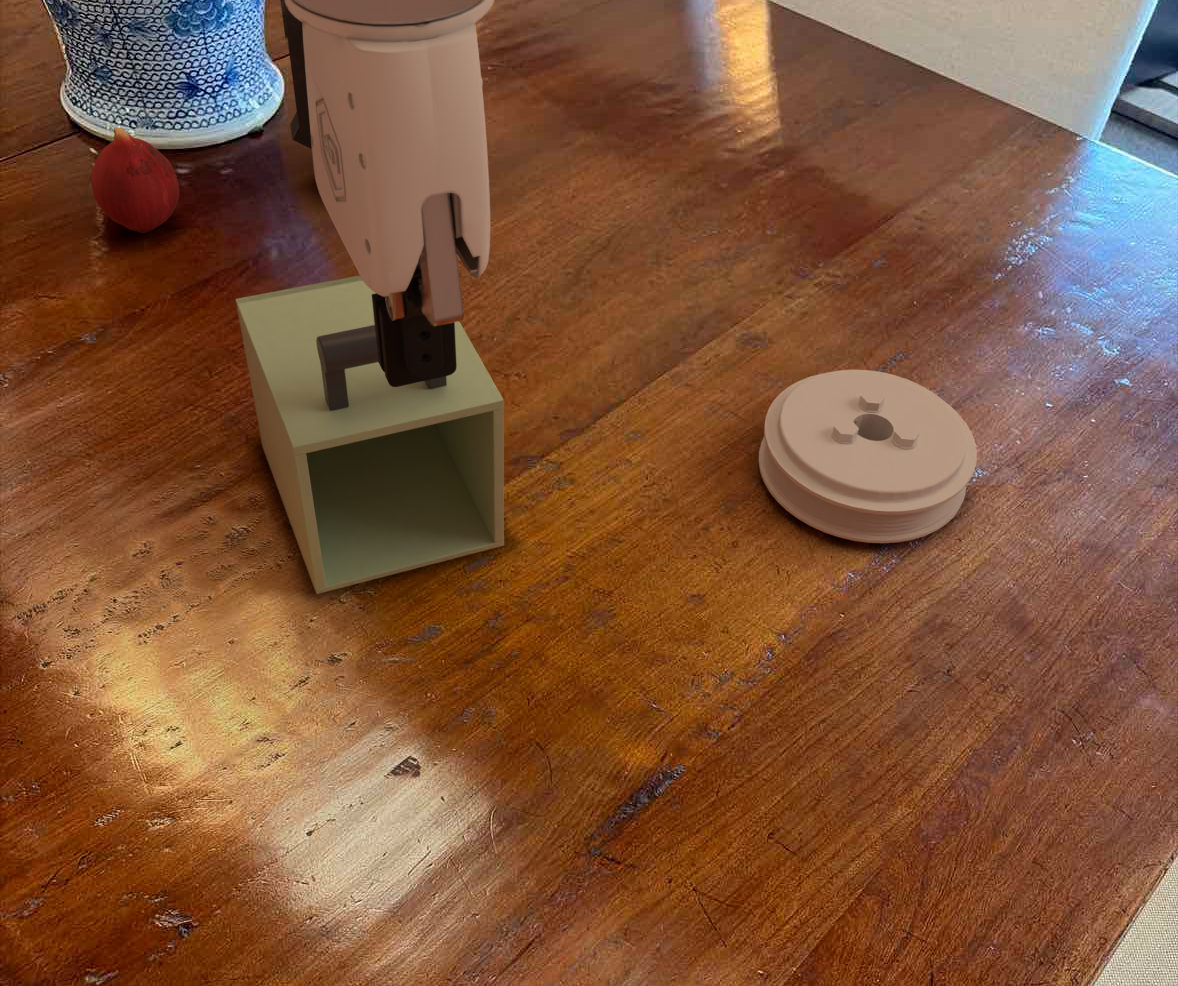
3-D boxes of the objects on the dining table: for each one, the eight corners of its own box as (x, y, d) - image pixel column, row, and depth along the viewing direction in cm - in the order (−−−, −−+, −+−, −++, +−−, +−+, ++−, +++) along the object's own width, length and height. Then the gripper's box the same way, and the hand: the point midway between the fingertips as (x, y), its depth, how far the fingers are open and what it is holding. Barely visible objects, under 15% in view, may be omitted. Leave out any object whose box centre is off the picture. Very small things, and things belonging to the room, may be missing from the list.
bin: (504, 548, 75) (504, 334, 64) (316, 597, 72) (282, 381, 61) (434, 410, 83) (423, 198, 72) (262, 448, 80) (223, 233, 69)
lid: (718, 494, 79) (729, 431, 75) (814, 389, 86) (828, 327, 83) (908, 586, 75) (929, 524, 71) (993, 467, 82) (1016, 405, 78)
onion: (195, 212, 97) (175, 110, 91) (176, 256, 93) (154, 153, 87) (117, 207, 97) (91, 105, 91) (94, 251, 93) (66, 148, 87)
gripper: (234, -112, 49) (296, 296, 63) (339, 63, 40) (385, 496, 54) (424, -132, 51) (444, 267, 65) (565, 30, 42) (554, 455, 56)
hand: (417, 370), depth 59 cm, fingers closed
